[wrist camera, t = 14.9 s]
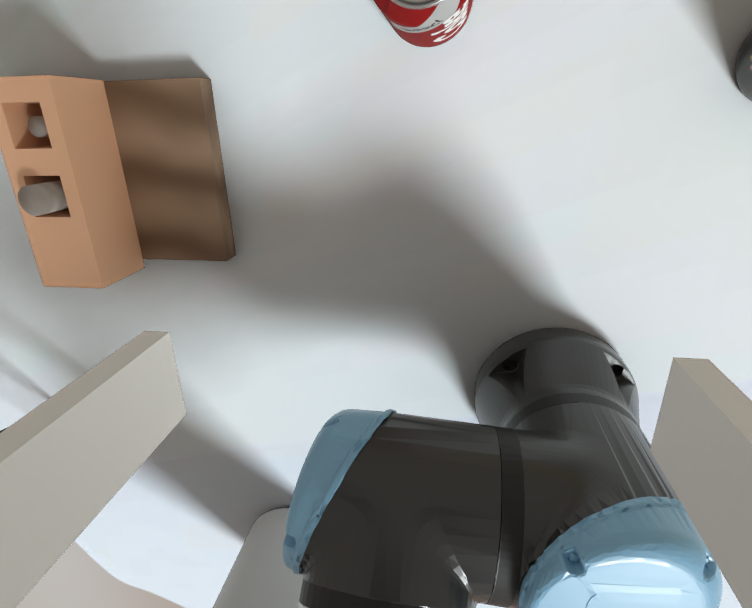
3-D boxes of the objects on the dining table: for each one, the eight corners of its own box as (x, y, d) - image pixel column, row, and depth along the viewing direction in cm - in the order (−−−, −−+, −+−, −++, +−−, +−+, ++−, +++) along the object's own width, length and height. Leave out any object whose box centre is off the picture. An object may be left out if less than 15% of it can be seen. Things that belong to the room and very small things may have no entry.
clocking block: (144, 267, 46) (103, 288, 41) (91, 266, 47) (43, 286, 42) (103, 80, 40) (47, 74, 34) (42, 82, 41) (-22, 77, 35)
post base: (235, 255, 47) (186, 287, 38) (59, 251, 50) (-24, 280, 41) (210, 79, 40) (144, 69, 32) (12, 86, 43) (-98, 80, 35)
